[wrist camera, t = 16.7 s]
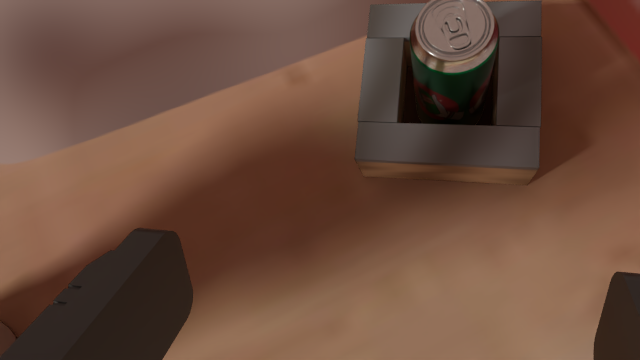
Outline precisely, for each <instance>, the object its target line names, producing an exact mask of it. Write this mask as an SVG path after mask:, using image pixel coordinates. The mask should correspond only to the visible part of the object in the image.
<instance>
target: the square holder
mask: <svg viewBox="0 0 640 360" xmlns="http://www.w3.org/2000/svg"><path fill="white" fill-rule="evenodd" d="M541 2H542V0H541V1H501V2H485V3H486V4H487V5H488V6H489V8H490V9H491V11H492V13H493V14H494V16H495V18H496V20H497V22H498V25H499V41H498V46H497V51H496V55H495V60H494V64H493V78H492V105H491V126H480V125H446V124H413V123H403V113H404V100H405V88H406V75H407V67H412V60H411V50H410V40H409V37H410V30H411V26H412V24H413V22H414V20H415V18H416V17H417V15H418V14H419V13H420V11H421V9H422V8H423V7H424V6H425V5H426V4H427V3H421V4H380V5H370V13H369V23H368V33H367V38H366V44H365V54H364V64H363V74H362V83H361V93H360V103H359V113H358V131H357V141H356V151H355V161H356V163H357V164H358V166H359V168H360V170H361V172H362V174H363V176H369V177H387V178H406V179H424V180H442V181H460V182H478V183H496V184H515V185H528V184H529V182H530V181H531V179H532V178H533V176H534V175H535V173H536V172H537V170H538V169H539V147H540V127H541V74H542V37H541Z"/></svg>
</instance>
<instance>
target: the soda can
mask: <svg viewBox="0 0 640 360" xmlns="http://www.w3.org/2000/svg"><path fill="white" fill-rule="evenodd" d="M409 40H410V50H411V60H412V70H413V80H414V89H415V99H416V109H417V114H418V116H419V119H420V120H421V122H422V123H423V124H446V125H476V124H477V122H478V121H479V120H480V118H481V116H482V113H483V110H484V105H485V101H486V96H487V92H488V87H489V82H490V78H491V73H492V69H493V64H494V60H495V55H496V51H497V46H498V41H499V25H498V22H497V20H496V18H495V16H494V14H493V13H492V11H491V9H490V8H489V6H488V5H487V4H486V3H485V2H484V1H483V0H430V1H429V2H428V3H427V4H426V5H425V6H424V7H423V8H422V9H421V11H420V13H419V14H418V15H417V17H416V18H415V20H414V22H413V24H412V26H411V30H410V37H409Z"/></svg>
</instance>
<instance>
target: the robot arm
mask: <svg viewBox="0 0 640 360" xmlns="http://www.w3.org/2000/svg"><path fill="white" fill-rule="evenodd" d="M53 301H54V303H53V305H49V306H48V307H47V308H46V309H45V310H44V311H43V312H42V313H41V314H40V315H39V316H38V317H37V318H36V319H35V321H34V322H33V323H32V324H31V325H30V326H29V327H28V328H27V329H26V330H25V331H24V332H23V333H22V334H21V335H20V336H19V337H18V338H17V340H16V338H15V336H14V334H13V333H12V332H11V330H10V329H9V328H8V327H7V326H6V325H4V324H3V323H2V322H0V360H162V359H163V357H164V356H165V354H166V353H167V351H168V349H169V348H170V346H171V344H172V343H173V341H174V339H175V338H176V336H177V335H178V333H179V331H180V330H181V328H182V326H183V325H184V323H185V321H186V320H187V318H188V316H189V313H190V310H191V307H192V301H193V289H192V285H191V281H190V277H189V273H188V269H187V265H186V262H185V258H184V254H183V250H182V246H181V242H180V239H179V237H178V235H177V234H176V233H175V232H174V231H167V230H156V229H144V228H138V229H135V230H133V231H132V232H131V233H130V234H129V235H128V236H127V238H126V239H125V240H124V241H123V242H122V243H121V244H120V245H119V246H118V247H117V249H116V250H115V251H109V252H107V253H106V254H104V255H103V256H101V257H100V258H98V259H96V260H95V261H93V262H92V263H90V264H88V265H87V266H86V267H85V268H84V269H83V270H82V271H81V272H80V273H79V274H78V275H77V276H76V277H75V278H74V279H73V280H72V281H71V283H70V284H69V287H68V289H64V290H63V291H62V292H61V293H60V294H59V295H58V296H57V297H56V298H55V299H54V300H53ZM594 360H640V274H638V273H626V272H616V273H615V274H614V275H613V277H612V279H611V282H610V285H609V289H608V292H607V296H606V299H605V303H604V307H603V310H602V314H601V317H600V321H599V325H598V328H597V332H596V336H595V341H594Z"/></svg>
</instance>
